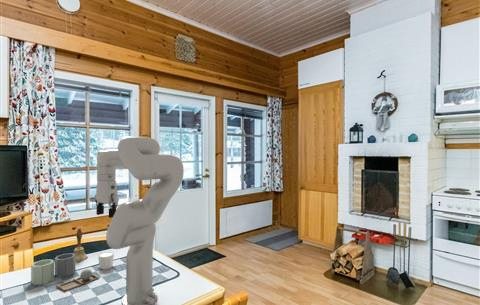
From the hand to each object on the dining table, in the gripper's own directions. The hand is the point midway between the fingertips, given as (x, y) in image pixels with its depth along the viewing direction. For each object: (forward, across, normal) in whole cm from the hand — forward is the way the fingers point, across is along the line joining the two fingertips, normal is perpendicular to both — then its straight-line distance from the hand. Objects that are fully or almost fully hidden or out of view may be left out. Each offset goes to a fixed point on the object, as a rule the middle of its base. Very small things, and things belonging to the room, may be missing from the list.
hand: (106, 215), depth 124 cm
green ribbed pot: (+28, +19, +18) cm, 38 cm away
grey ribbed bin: (+28, +19, +8) cm, 35 cm away
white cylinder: (+28, +10, -6) cm, 31 cm away
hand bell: (+29, +34, -5) cm, 45 cm away
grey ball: (+27, +4, +7) cm, 28 cm away
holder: (+28, +4, +10) cm, 30 cm away
